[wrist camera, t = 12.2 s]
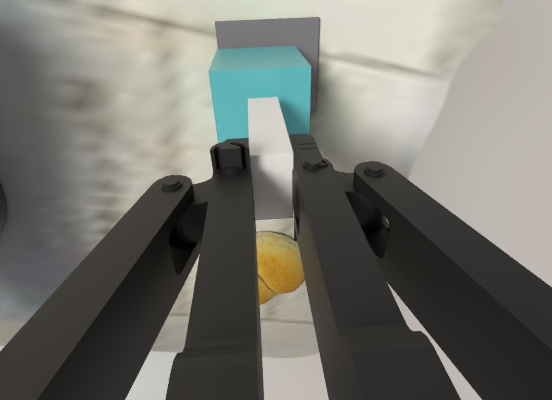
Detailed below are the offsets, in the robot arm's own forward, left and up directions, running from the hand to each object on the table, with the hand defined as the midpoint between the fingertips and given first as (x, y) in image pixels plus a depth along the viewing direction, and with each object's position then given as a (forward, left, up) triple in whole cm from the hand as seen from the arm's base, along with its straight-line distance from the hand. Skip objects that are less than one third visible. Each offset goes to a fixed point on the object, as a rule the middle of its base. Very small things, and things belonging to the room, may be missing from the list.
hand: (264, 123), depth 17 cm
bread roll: (-1, -18, -9) cm, 21 cm away
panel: (+1, +1, -9) cm, 9 cm away
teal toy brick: (0, 0, -8) cm, 8 cm away
